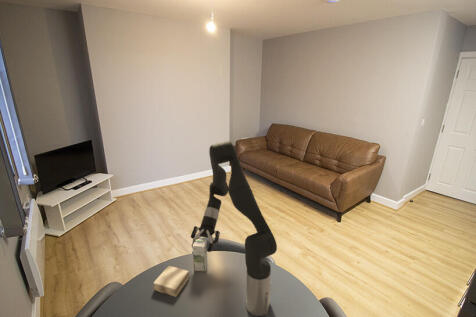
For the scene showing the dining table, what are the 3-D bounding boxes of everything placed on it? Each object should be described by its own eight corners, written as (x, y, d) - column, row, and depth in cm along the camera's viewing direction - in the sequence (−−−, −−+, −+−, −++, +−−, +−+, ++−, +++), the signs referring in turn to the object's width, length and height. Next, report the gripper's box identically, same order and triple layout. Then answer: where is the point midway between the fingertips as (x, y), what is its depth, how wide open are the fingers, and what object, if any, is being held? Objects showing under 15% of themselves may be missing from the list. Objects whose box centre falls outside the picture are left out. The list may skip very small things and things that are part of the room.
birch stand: (189, 278, 108) (188, 271, 106) (175, 297, 97) (175, 289, 96) (169, 272, 111) (168, 265, 110) (154, 290, 101) (153, 282, 100)
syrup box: (207, 263, 117) (206, 238, 113) (205, 272, 111) (203, 246, 107) (196, 262, 117) (195, 238, 113) (193, 271, 112) (192, 245, 108)
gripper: (195, 213, 119) (185, 245, 112) (220, 218, 115) (211, 251, 107) (200, 217, 125) (191, 248, 118) (225, 222, 121) (216, 254, 113)
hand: (201, 249), depth 113 cm, fingers open, 8 cm apart
